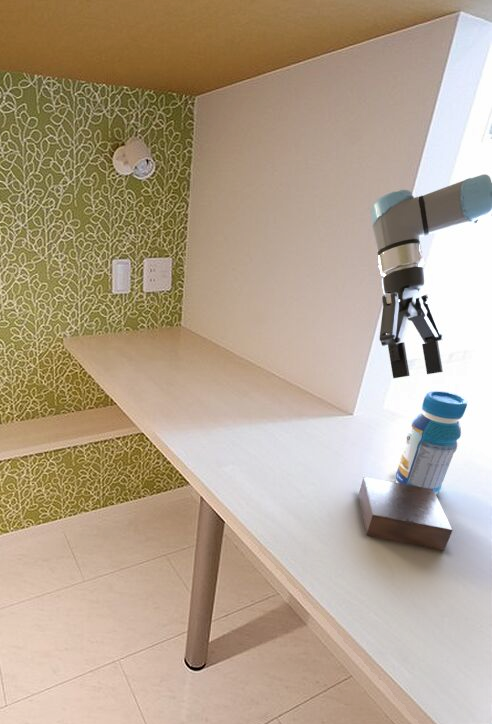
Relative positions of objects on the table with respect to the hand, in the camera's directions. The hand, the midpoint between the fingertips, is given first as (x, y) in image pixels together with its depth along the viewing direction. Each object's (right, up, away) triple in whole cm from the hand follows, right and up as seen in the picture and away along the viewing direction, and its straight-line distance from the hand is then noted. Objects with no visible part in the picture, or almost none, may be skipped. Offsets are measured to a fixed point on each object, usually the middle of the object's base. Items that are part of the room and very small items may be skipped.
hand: (418, 375), depth 87 cm
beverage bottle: (+1, -23, +3) cm, 23 cm away
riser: (-9, -28, -8) cm, 30 cm away
